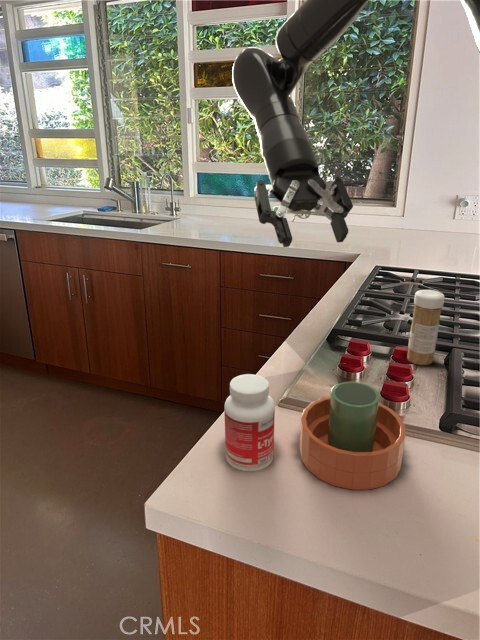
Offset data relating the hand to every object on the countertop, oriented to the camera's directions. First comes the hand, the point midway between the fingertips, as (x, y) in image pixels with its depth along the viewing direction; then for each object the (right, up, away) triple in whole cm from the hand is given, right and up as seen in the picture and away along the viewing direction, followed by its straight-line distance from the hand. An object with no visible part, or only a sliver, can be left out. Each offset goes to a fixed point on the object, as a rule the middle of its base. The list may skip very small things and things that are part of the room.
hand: (315, 241), depth 67 cm
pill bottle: (-10, -29, -7) cm, 32 cm away
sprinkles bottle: (+20, -19, +15) cm, 32 cm away
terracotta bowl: (+3, -29, -8) cm, 30 cm away
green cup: (+3, -28, -8) cm, 30 cm away
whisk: (+17, +37, +140) cm, 146 cm away
